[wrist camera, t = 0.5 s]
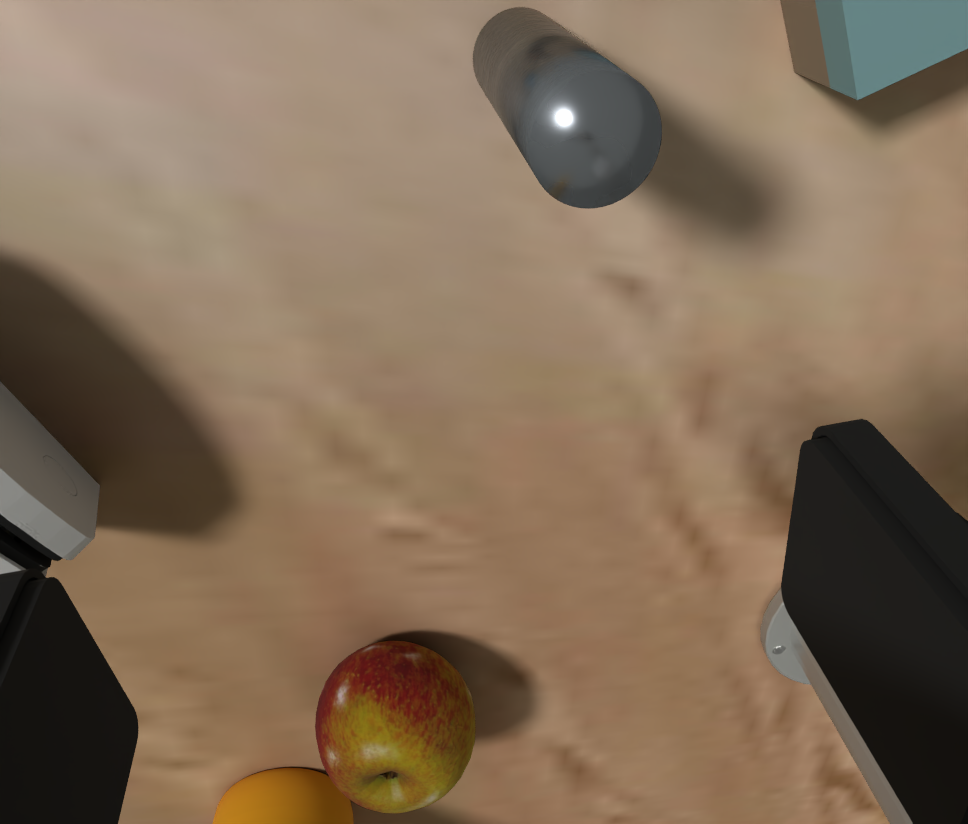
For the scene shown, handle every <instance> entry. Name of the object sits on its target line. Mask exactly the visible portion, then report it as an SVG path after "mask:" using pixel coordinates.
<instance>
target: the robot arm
mask: <svg viewBox="0 0 968 824" xmlns="http://www.w3.org/2000/svg"><path fill="white" fill-rule="evenodd" d="M760 632H761V643H762V646H763V649H764V652H765V653H766V655H767V657H768V659H769V660H770V662H771V664H772V666H773V667H774V668H775V669H776V670H777V671H778V672H779V673H780V674H782V675H784V676H785V677H787V678H789V679H791V680H794V681H797V682H800V683H804V684H810V685H812V687H813V689H814V690H815V692H816V694H817V696H818V697H819V699H820V701H821V703H822V704H823V706H824V708H825V710H826V712H827V713H828V715H829V717H830V719H831V720H832V722H833V724H834V726H835V727H836V729H837V731H838V733H839V734H840V736H841V738H842V740H843V741H844V743H845V745H846V747H847V749H848V750H849V752H850V754H851V756H852V757H853V759H854V761H855V763H856V764H857V766H858V768H859V770H860V771H861V773H862V775H863V777H864V779H865V780H866V782H867V784H868V786H869V787H870V789H871V791H872V793H873V794H874V796H875V798H876V800H877V802H878V803H879V805H880V807H881V809H882V810H883V812H884V814H885V816H886V817H887V819H888V821H889V823H890V824H968V521H967V520H966V519H964V518H963V517H962V516H961V515H960V514H958V513H956V512H955V511H954V510H953V509H952V508H951V507H950V506H949V505H948V504H947V503H946V502H945V501H944V500H943V498H942V497H941V496H940V495H939V494H938V493H937V492H936V491H935V490H934V489H933V488H932V487H931V486H930V485H929V484H928V483H927V482H926V481H925V480H924V478H923V477H922V476H921V475H920V474H919V473H918V472H917V471H916V470H915V469H914V468H913V467H912V466H911V465H910V464H909V463H908V462H907V461H906V459H905V458H904V457H903V456H902V455H901V454H900V453H899V452H898V451H897V450H896V449H895V448H894V447H893V446H892V445H891V444H890V443H889V442H888V440H887V439H886V438H885V437H884V436H883V435H882V434H881V433H880V432H879V431H878V430H877V429H876V428H875V427H874V426H873V425H872V424H871V423H870V422H868V421H867V420H863V419H859V420H853V421H848V422H842V423H836V424H831V425H825V426H821V427H818V428H816V430H815V431H814V432H813V436H812V439H811V440H807V441H804V442H803V444H802V445H801V449H800V455H799V462H798V469H797V476H796V484H795V491H794V498H793V505H792V512H791V519H790V526H789V533H788V540H787V547H786V555H785V562H784V569H783V576H782V583H781V588H780V590H779V591H778V592H777V594H776V595H775V596H774V598H773V599H772V600H771V602H770V604H769V606H768V608H767V610H766V612H765V614H764V616H763V620H762V624H761V628H760ZM137 739H138V719H137V715H136V712H135V709H134V707H133V706H132V704H131V702H130V700H129V699H128V697H127V695H126V694H125V692H124V690H123V689H122V687H121V685H120V683H119V682H118V680H117V678H116V677H115V675H114V673H113V671H112V670H111V668H110V666H109V665H108V663H107V661H106V659H105V658H104V656H103V654H102V653H101V651H100V649H99V647H98V646H97V644H96V642H95V641H94V639H93V637H92V635H91V634H90V632H89V630H88V629H87V627H86V625H85V623H84V622H83V620H82V618H81V617H80V615H79V613H78V611H77V610H76V608H75V606H74V605H73V603H72V601H71V599H70V598H69V596H68V594H67V593H66V591H65V589H64V588H63V586H62V584H61V583H60V582H59V580H58V579H56V578H54V577H49V578H46V577H45V576H44V574H43V573H42V572H41V571H39V570H37V569H26V570H21V571H15V572H9V573H4V574H0V824H118V821H119V816H120V812H121V808H122V804H123V799H124V795H125V791H126V787H127V782H128V778H129V774H130V769H131V765H132V761H133V757H134V752H135V748H136V744H137Z"/></svg>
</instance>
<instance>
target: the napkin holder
mask: <svg viewBox="0 0 968 824" xmlns="http://www.w3.org/2000/svg"><path fill="white" fill-rule="evenodd" d="M99 491H100V485H99V484H98V483H97V482H96V481H95V480H94V479H93V478H92V477H91V476H90V475H89V474H88V473H87V472H86V471H85V470H84V468H83V467H82V466H81V465H80V464H79V463H78V462H77V461H76V460H75V459H74V458H73V457H72V456H71V455H70V454H69V453H68V452H67V451H66V450H65V449H64V448H63V446H62V445H61V444H60V443H59V442H58V441H57V440H56V439H55V438H54V437H53V436H52V435H51V434H50V433H49V432H48V431H47V430H46V429H45V428H44V427H43V426H42V424H41V423H40V422H39V421H38V420H37V419H36V418H35V417H34V416H33V415H32V414H31V413H30V412H29V411H28V410H27V409H26V408H25V407H24V406H23V405H22V404H21V403H20V401H19V400H18V399H17V398H16V397H15V396H14V395H13V394H12V393H11V392H10V391H9V390H8V389H7V388H6V387H5V386H4V385H3V384H2V383H1V382H0V574H4V573H9V572H15V571H21V570H26V569H37V570H39V571H41V572H42V573H43V574H44V576H46V574H47V569H48V567H50V565H51V560H55V561H59V560H61V559H62V558H64V559H66V560H72V559H74V558H75V557H76V556H77V555H78V554H79V553H80V552H81V551H82V550H83V549H84V548H85V547H86V546H87V545H88V544H89V543H90V542H91V541H92V540H93V539H94V537H95V530H96V520H97V511H98V501H99Z"/></svg>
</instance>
